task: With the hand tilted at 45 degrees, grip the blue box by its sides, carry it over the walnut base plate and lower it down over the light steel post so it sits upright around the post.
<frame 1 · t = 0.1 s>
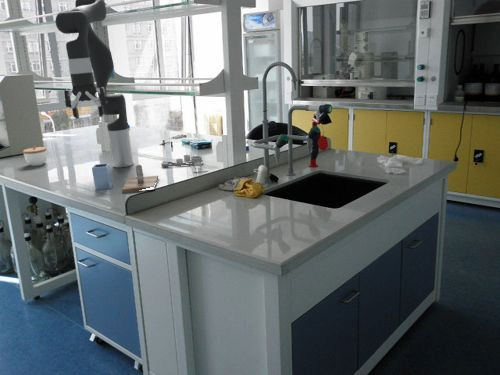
hand: (89, 117, 167), 29 cm above the countertop, tool pointing down, fingers open, 8 cm apart
lidded jar: (37, 164, 232), on the countertop
pulley system: (189, 167, 209), on the countertop
post base: (141, 185, 183), on the countertop
blue box: (104, 187, 184), on the countertop
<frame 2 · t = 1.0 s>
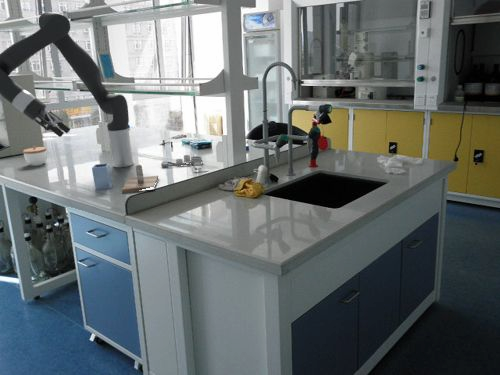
hand: (65, 133, 177), 23 cm above the countertop, tool tilted 45°, fingers open, 8 cm apart
nothing on the countertop moved.
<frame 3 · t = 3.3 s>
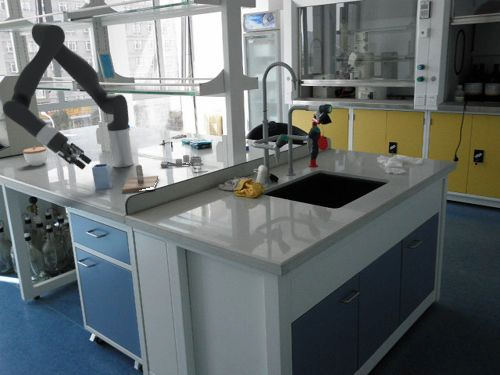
hand: (87, 165, 181), 10 cm above the countertop, tool tilted 45°, fingers open, 8 cm apart
nothing on the countertop moved.
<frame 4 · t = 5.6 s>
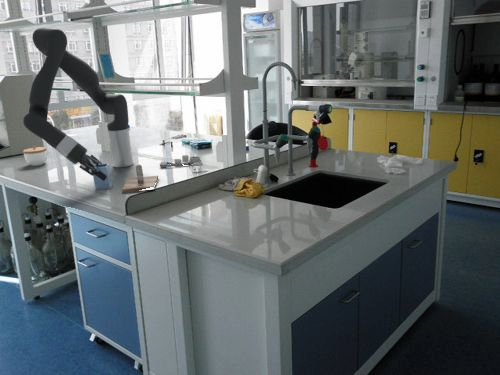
hand: (107, 176, 183), 4 cm above the countertop, tool tilted 45°, fingers closed on blue box, 5 cm apart
blue box: (104, 187, 184), on the countertop, touching gripper
everything else where it was.
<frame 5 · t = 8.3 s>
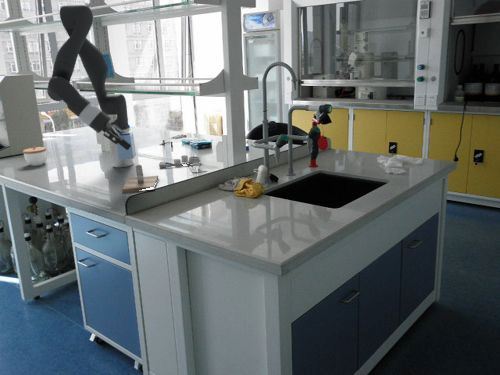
hand: (130, 146, 178), 16 cm above the countertop, tool tilted 45°, fingers closed on blue box, 5 cm apart
blue box: (127, 157, 180), point 12 cm above the countertop, touching gripper
everything else where it was.
when the fingers open (7 cm above the countertop, at t = 11.5 s): blue box stays where it is, resting on post base.
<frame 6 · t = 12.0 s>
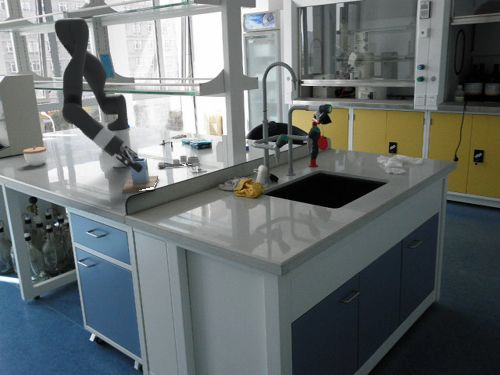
hand: (142, 168, 181), 7 cm above the countertop, tool tilted 45°, fingers open, 8 cm apart
blue box: (141, 182, 182), point 1 cm above the countertop, touching post base
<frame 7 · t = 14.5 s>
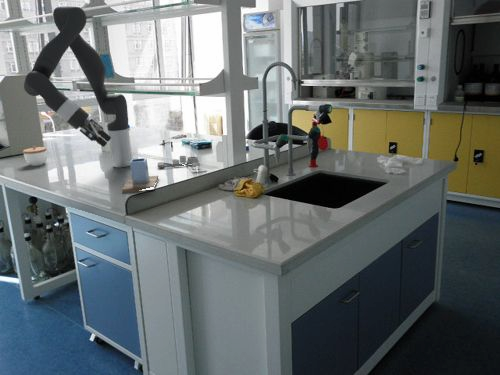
hand: (107, 142, 178), 18 cm above the countertop, tool tilted 45°, fingers open, 8 cm apart
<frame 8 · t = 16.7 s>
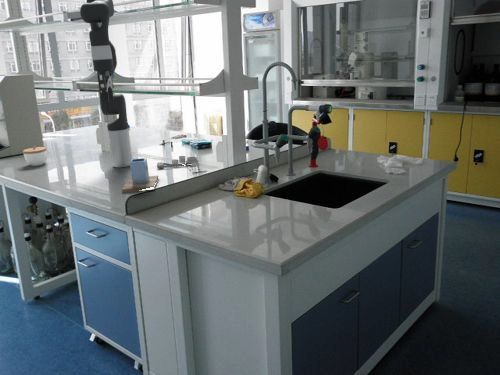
hand: (108, 100, 182), 33 cm above the countertop, tool pointing down, fingers open, 8 cm apart
at the end: blue box 0.3 cm off-centre on the post base, point 1.5 cm above the post base's base; blue box tilted 0°; the gripper is holding nothing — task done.
